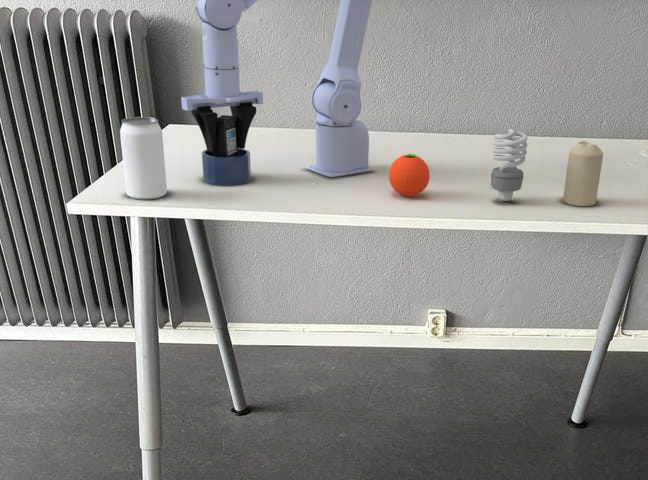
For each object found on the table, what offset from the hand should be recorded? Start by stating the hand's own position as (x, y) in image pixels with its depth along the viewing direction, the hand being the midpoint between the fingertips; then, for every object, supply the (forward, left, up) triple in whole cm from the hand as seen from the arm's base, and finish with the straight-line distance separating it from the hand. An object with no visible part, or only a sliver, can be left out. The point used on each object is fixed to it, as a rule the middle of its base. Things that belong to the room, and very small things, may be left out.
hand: (225, 149), depth 145 cm
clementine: (-21, +25, -6) cm, 33 cm away
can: (+16, +2, -6) cm, 17 cm away
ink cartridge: (0, 0, -3) cm, 3 cm away
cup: (0, 0, -5) cm, 5 cm away
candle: (-43, +44, -6) cm, 62 cm away
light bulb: (-32, +37, -6) cm, 49 cm away
